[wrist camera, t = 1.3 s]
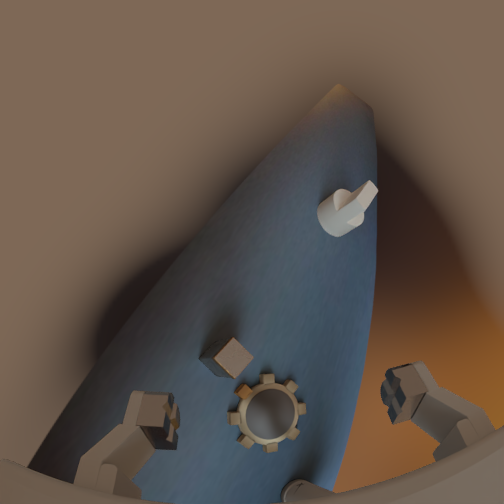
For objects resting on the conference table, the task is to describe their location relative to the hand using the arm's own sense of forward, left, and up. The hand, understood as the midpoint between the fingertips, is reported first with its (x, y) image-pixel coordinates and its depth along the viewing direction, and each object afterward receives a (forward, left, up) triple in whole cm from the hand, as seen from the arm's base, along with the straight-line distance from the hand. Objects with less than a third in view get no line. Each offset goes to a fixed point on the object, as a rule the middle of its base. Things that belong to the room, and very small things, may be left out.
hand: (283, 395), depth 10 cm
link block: (+8, -5, -36) cm, 37 cm away
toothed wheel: (+7, -18, -36) cm, 41 cm away
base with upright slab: (+49, -4, -36) cm, 61 cm away
